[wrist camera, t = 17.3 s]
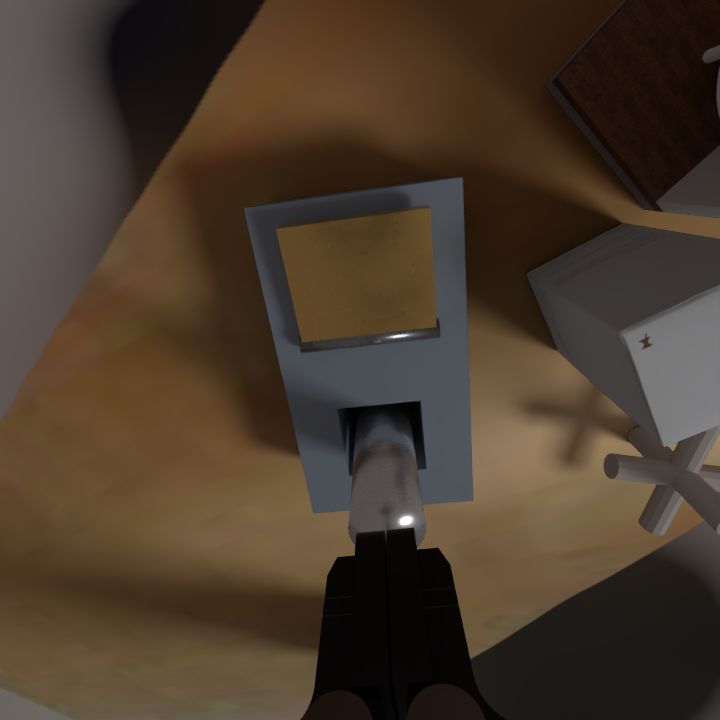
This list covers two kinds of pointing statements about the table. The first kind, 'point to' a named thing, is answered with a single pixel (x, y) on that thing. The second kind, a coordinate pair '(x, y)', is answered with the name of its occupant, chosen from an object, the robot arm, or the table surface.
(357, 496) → the steel pin
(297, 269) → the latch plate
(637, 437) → the pipe connector
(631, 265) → the supplement box
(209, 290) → the table surface
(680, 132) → the display case
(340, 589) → the robot arm
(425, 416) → the pin block
